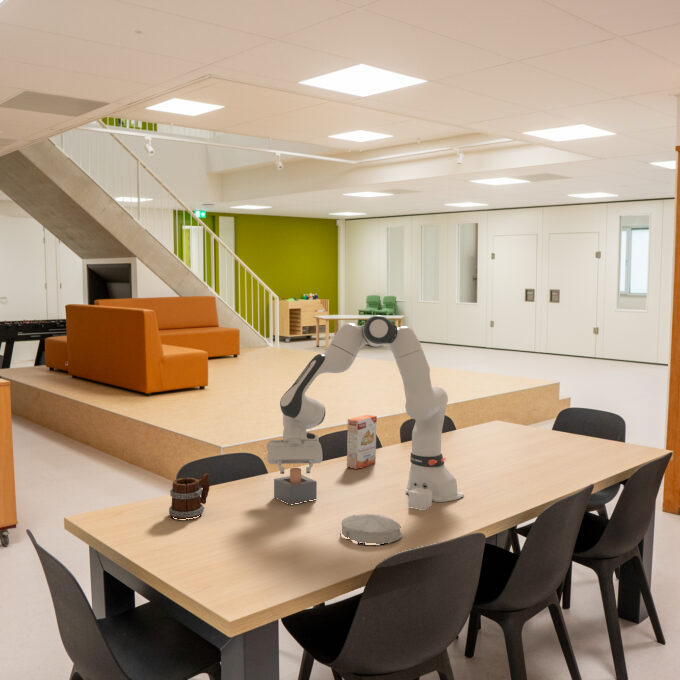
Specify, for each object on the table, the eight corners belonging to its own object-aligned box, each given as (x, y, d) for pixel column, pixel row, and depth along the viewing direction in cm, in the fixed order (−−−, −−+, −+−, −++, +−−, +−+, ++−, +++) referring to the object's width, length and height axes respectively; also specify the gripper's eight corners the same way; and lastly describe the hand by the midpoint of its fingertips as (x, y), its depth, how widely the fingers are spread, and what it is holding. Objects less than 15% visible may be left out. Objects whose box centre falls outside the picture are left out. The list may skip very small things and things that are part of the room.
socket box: (316, 500, 257) (316, 481, 256) (289, 505, 250) (289, 486, 250) (300, 492, 266) (300, 474, 265) (274, 497, 260) (274, 478, 259)
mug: (159, 514, 240) (165, 470, 240) (194, 512, 250) (200, 469, 250) (178, 523, 232) (184, 477, 232) (214, 520, 242) (219, 476, 242)
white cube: (416, 503, 254) (417, 487, 254) (431, 506, 251) (432, 490, 250) (408, 508, 249) (408, 491, 249) (423, 511, 246) (424, 494, 245)
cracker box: (357, 470, 296) (358, 420, 294) (346, 467, 300) (346, 419, 298) (376, 463, 307) (377, 415, 305) (365, 460, 311) (365, 413, 309)
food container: (326, 534, 225) (326, 513, 225) (372, 519, 238) (372, 500, 237) (368, 554, 210) (368, 532, 209) (415, 537, 223) (415, 516, 222)
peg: (302, 496, 258) (303, 469, 256) (293, 498, 255) (293, 471, 254) (297, 493, 261) (297, 467, 260) (287, 495, 259) (287, 468, 257)
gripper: (266, 435, 262) (266, 469, 253) (321, 435, 264) (323, 468, 255) (266, 444, 267) (266, 477, 258) (321, 444, 269) (322, 476, 260)
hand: (295, 472), depth 257 cm, fingers open, 8 cm apart
